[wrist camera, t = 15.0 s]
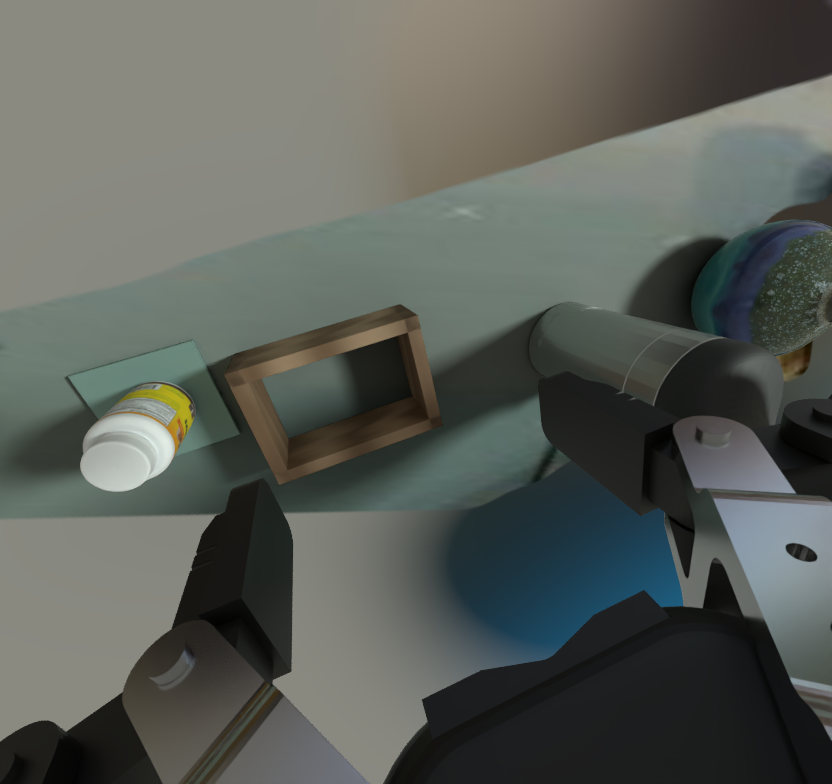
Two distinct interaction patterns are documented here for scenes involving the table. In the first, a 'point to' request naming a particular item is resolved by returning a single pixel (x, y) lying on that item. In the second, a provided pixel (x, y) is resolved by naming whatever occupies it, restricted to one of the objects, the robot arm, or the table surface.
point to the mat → (169, 366)
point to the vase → (768, 286)
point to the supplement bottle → (137, 436)
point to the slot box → (353, 432)
